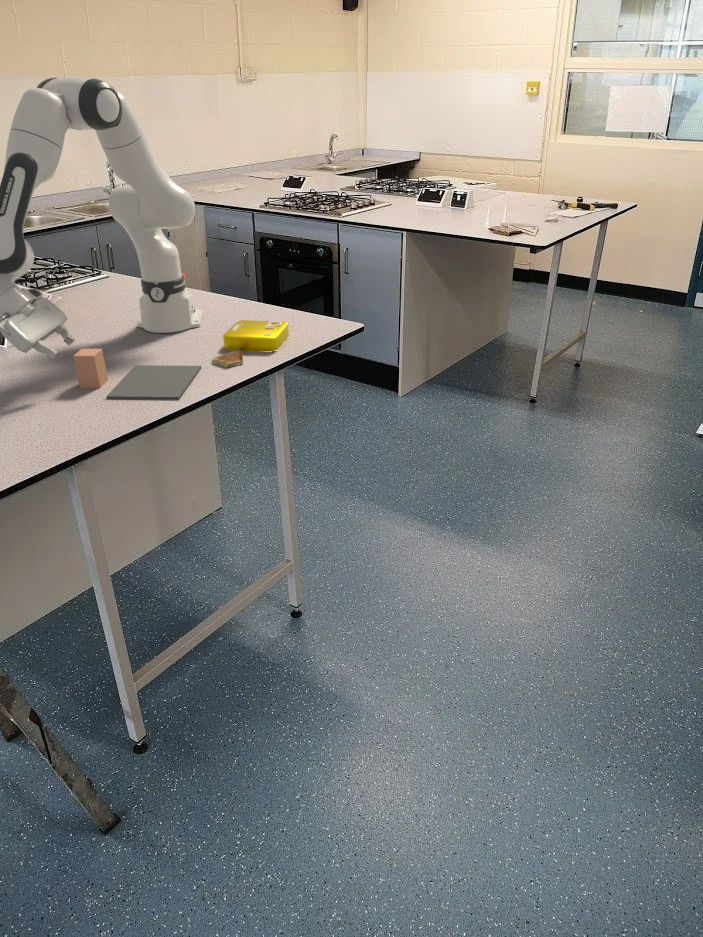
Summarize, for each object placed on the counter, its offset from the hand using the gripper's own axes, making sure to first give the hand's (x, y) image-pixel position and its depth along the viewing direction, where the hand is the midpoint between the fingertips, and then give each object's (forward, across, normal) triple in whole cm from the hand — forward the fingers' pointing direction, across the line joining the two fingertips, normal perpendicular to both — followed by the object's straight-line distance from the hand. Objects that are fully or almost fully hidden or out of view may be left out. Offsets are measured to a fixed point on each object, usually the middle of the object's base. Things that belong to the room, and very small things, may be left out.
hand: (64, 348), depth 170 cm
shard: (+31, +17, -18) cm, 40 cm away
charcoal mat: (+21, +1, -8) cm, 22 cm away
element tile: (+34, +31, -21) cm, 51 cm away
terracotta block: (+10, 0, +2) cm, 10 cm away
